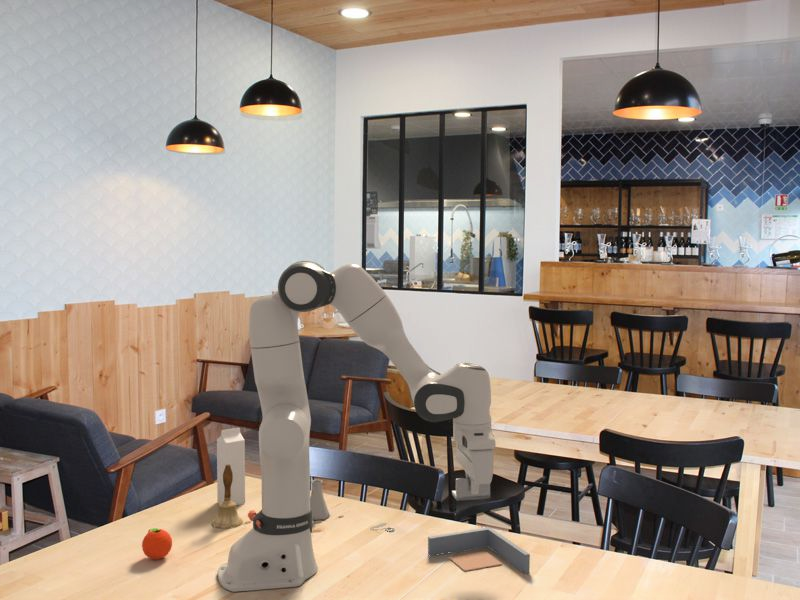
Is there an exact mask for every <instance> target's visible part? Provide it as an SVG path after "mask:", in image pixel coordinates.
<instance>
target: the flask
mask: <svg viewBox="0 0 800 600" xmlns="http://www.w3.org/2000/svg"><path fill="white" fill-rule="evenodd" d="M323 483H324V481H323V480H322V479H312V480H310V484H311V492H310V508H311V509H312V515H313V521H320V520H326V519H328V518H329V517H330V516H331V514H330V512H329V510H328V505H327V504H326V501H325V498H324V494H323V485H322V484H323Z"/></svg>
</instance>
